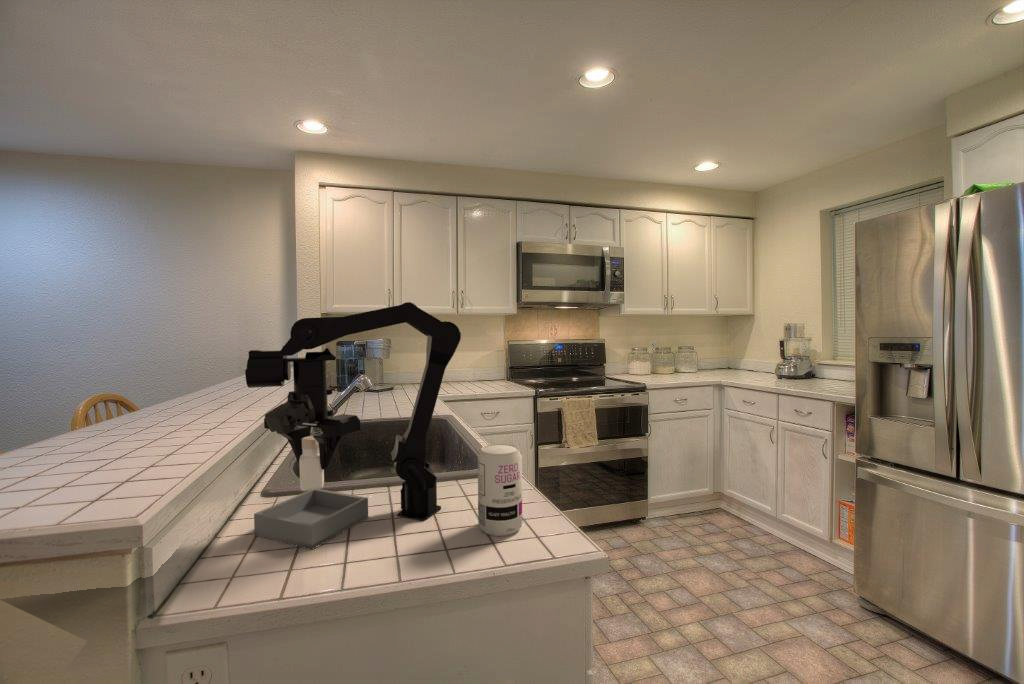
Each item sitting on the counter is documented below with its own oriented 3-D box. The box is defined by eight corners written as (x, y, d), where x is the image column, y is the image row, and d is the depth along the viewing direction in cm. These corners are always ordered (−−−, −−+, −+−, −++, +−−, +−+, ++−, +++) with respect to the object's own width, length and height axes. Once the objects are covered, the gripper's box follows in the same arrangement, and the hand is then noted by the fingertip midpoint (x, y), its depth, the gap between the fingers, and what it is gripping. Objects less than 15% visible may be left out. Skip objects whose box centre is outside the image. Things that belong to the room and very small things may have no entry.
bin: (368, 517, 91) (367, 497, 91) (312, 549, 79) (311, 526, 78) (315, 507, 97) (314, 488, 97) (254, 535, 84) (254, 513, 84)
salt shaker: (323, 489, 86) (322, 439, 86) (300, 492, 85) (298, 441, 84) (324, 482, 90) (322, 434, 89) (301, 485, 88) (300, 436, 88)
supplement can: (496, 515, 92) (495, 440, 92) (530, 525, 88) (530, 447, 87) (469, 530, 86) (468, 450, 85) (505, 542, 81) (504, 457, 80)
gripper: (236, 388, 83) (239, 474, 84) (314, 393, 76) (317, 488, 76) (288, 380, 93) (290, 457, 94) (361, 385, 86) (363, 468, 86)
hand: (313, 467), depth 87 cm, fingers closed on salt shaker, 5 cm apart
